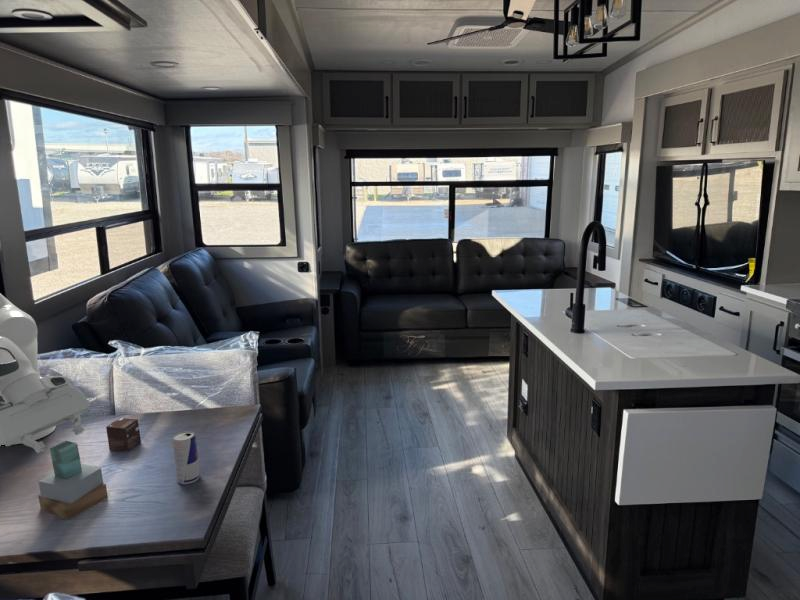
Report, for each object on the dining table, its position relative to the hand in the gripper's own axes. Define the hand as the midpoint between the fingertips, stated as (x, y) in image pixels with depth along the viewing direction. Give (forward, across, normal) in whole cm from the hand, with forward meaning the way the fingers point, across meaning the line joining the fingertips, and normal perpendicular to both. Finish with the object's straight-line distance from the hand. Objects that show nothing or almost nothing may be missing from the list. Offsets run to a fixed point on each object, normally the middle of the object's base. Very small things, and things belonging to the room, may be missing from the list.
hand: (61, 441), depth 132 cm
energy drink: (+25, +18, -3) cm, 30 cm away
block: (+7, -1, +4) cm, 8 cm away
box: (+4, +23, +18) cm, 30 cm away
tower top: (+10, -1, +6) cm, 12 cm away
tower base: (+13, -1, +9) cm, 16 cm away
